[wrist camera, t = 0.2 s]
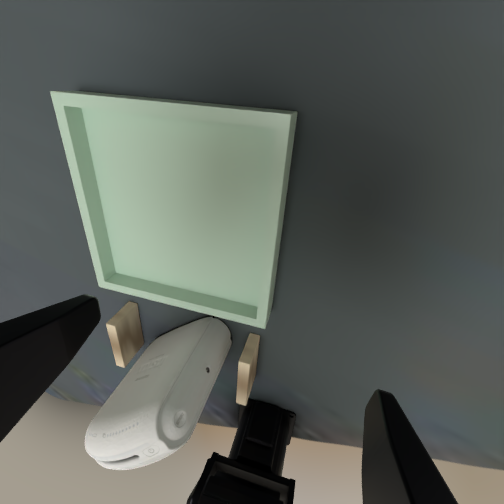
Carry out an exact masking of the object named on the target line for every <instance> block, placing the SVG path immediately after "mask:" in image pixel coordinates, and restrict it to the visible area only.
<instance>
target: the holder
mask: <svg viewBox="0 0 504 504" xmlns="http://www.w3.org/2000/svg"><path fill="white" fill-rule="evenodd" d="M106 326H107V330H108V334H109V337H110V341H111V345H112V349H113V353H114V357H115V361H116V365H117V366H121V367H124V368H125V367H126V366H127V364H128V363H129V362H130V361H131V359H132V358H133V357H134V356H135V354H136V353H137V352H138V351H139V349H140V348H141V347H142V346H143V344H144V340H143V334H142V328H141V322H140V317H139V311H138V305H137V303H133V302H130V301H129V302H128V303H127V304H126V305H125V306H124V307H123V308H122V309H121V310H120V311H118V312H117V313H116V314H115V315H114V316H113V317H112V318H111V319H110V320H109V321H108V322H107V323H106ZM259 340H260V335H256V334H252V333H250V334H249V337H248V339H247V342H246V344H245V347H244V349H243V352H242V354H241V357H240V359H239V364H238V380H237V396H236V403H238V404H241V405H244V406H246V404H247V401H248V398H249V395H250V392H251V388H252V385H253V382H254V379H255V376H256V367H257V358H258V349H259Z"/></svg>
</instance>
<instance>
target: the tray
mask: <svg viewBox="0 0 504 504" xmlns="http://www.w3.org/2000/svg"><path fill="white" fill-rule="evenodd" d="M50 93H51V97H52V101H53V105H54V109H55V113H56V117H57V121H58V125H59V129H60V133H61V137H62V141H63V145H64V149H65V153H66V157H67V161H68V165H69V169H70V173H71V177H72V181H73V185H74V189H75V193H76V197H77V201H78V205H79V209H80V213H81V217H82V221H83V225H84V229H85V233H86V237H87V241H88V245H89V249H90V253H91V257H92V261H93V265H94V269H95V273H96V277H97V281H98V285H99V287H102V288H106V289H110V290H114V291H118V292H122V293H126V294H130V295H134V296H137V297H141V298H145V299H149V300H153V301H157V302H161V303H165V304H169V305H173V306H177V307H181V308H185V309H188V310H192V311H196V312H200V313H204V314H208V315H212V316H216V317H220V318H224V319H228V320H232V321H236V322H240V323H243V324H247V325H251V326H255V327H259V328H263V329H265V328H266V325H267V322H268V319H269V316H270V313H271V310H272V304H273V296H274V288H275V281H276V273H277V265H278V258H279V250H280V242H281V235H282V227H283V219H284V212H285V204H286V196H287V189H288V181H289V174H290V166H291V158H292V151H293V143H294V135H295V128H296V120H297V112H298V111H287V110H277V109H266V108H255V107H245V106H234V105H223V104H213V103H202V102H191V101H181V100H170V99H159V98H149V97H138V96H128V95H117V94H106V93H96V92H85V91H50Z"/></svg>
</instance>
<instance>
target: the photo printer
mask: <svg viewBox="0 0 504 504" xmlns="http://www.w3.org/2000/svg"><path fill="white" fill-rule="evenodd" d="M230 338H231V334H230V331H229V329H228V327H227V326H226V325H225V324H224V323H223V322H222V321H220V320H219V319H217V318H213V317H206V318H202V319H199V320H197V321H194V322H191V323H189V324H186V325H184V326H182V327H179V328H177V329H175V330H173V331H170V332H168V333H166V334H164V335H162V336H160V337H158V338H157V339H156V340H154V341H153V342H152V343H151V344H150V345H149V346H148V348H147V349H146V350H145V351H144V353H143V354H142V355H141V357H140V358H139V359H138V360H137V362H136V363H135V364H134V366H133V367H132V368H131V370H130V371H129V372H128V373H127V375H126V376H125V377H124V379H123V380H122V381H121V383H120V384H119V385H118V387H117V388H116V389H115V390H114V392H113V393H112V394H111V396H110V397H109V398H108V400H107V401H106V402H105V404H104V405H103V406H102V408H101V409H100V410H99V411H98V413H97V414H96V416H95V417H94V418H93V420H92V421H91V423H90V424H89V427H88V429H87V431H86V435H85V449H86V451H87V453H88V454H89V455H90V456H91V457H93V458H94V459H95V460H96V461H97V463H98V464H100V465H101V466H103V467H105V468H108V469H114V470H128V469H134V468H139V467H143V466H146V465H149V464H152V463H155V462H157V461H160V460H162V459H164V458H166V457H167V456H169V455H171V454H173V453H174V452H176V451H177V450H178V449H180V448H181V447H182V446H183V445H184V444H185V443H186V442H187V441H188V440H189V438H190V437H191V435H192V433H193V431H194V429H195V426H196V424H197V422H198V419H199V417H200V415H201V413H202V410H203V408H204V406H205V403H206V401H207V399H208V397H209V394H210V392H211V390H212V388H213V385H214V383H215V381H216V379H217V376H218V374H219V372H220V370H221V367H222V365H223V363H224V361H225V359H226V356H227V354H228V352H229V350H230V347H231V344H232V341H231V339H230Z"/></svg>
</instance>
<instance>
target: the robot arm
mask: <svg viewBox="0 0 504 504" xmlns="http://www.w3.org/2000/svg"><path fill="white" fill-rule="evenodd" d="M100 318H101V313H100V308H99V302H98V299H97V298H96V297H93V296H90V295H87V294H84V295H81V296H78V297H75V298H72V299H69V300H66V301H63V302H60V303H57V304H54V305H51V306H49V307H46V308H43V309H40V310H37V311H34V312H31V313H28V314H25V315H22V316H19V317H17V318H14V319H11V320H8V321H5V322H2V323H0V442H1V441H2V440H3V439H4V438H5V436H6V435H7V434H8V433H9V432H10V431H11V430H12V428H13V427H14V426H15V425H16V424H17V423H18V421H19V420H20V419H21V418H22V417H23V416H24V415H25V413H26V412H27V411H28V410H29V409H30V408H31V406H32V405H33V404H34V403H35V402H36V401H37V400H38V399H39V397H40V396H41V395H42V394H43V393H44V392H45V391H46V389H47V388H48V387H49V386H50V385H51V384H52V382H53V381H54V380H55V379H56V378H57V377H58V376H59V374H60V373H61V372H62V371H63V370H64V369H65V367H66V366H67V365H68V364H69V363H70V361H71V360H72V359H73V357H74V356H75V355H76V353H77V352H78V351H79V349H80V348H81V346H82V345H83V344H84V342H85V341H86V340H87V338H88V337H89V335H90V334H91V333H92V331H93V330H94V328H95V327H96V326H97V324H98V323H99V321H100ZM291 415H293V416H291ZM295 420H296V414H295V413H294V412H291V411H288V410H285V409H282V408H278V407H275V406H272V405H269V404H266V403H262V402H259V401H256V400H253V399H249V398H248V401H247V404H246V406H244V405H241V404H240V408H239V421H238V429H237V432H236V436H235V439H234V442H233V445H232V448H231V451H230V454H229V457H228V458H227V457H224V456H221V455H219V454H218V453H216V452H213V454H212V457H211V458H209V459H208V460H207V463H206V465H205V468H204V471H203V473H202V475H201V477H200V479H199V481H198V483H197V485H196V486H195V488H194V489H193V491H192V493H191V494H190V496H189V498H188V500H187V504H293V499H294V489H295V480H293V479H287V478H284V477H281V476H282V470H283V464H284V458H285V452H286V446H287V445H289V444H290V440H291V436H292V432H293V428H294V424H295ZM362 494H363V504H458V503H457V501H456V499H455V498H454V496H453V494H452V493H451V491H450V489H449V487H448V486H447V484H446V482H445V481H444V479H443V477H442V476H441V474H440V472H439V471H438V469H437V467H436V466H435V464H434V462H433V461H432V459H431V457H430V456H429V454H428V452H427V451H426V449H425V447H424V446H423V444H422V442H421V440H420V439H419V437H418V435H417V434H416V432H415V430H414V429H413V427H412V425H411V424H410V422H409V420H408V419H407V417H406V415H405V414H404V412H403V410H402V409H401V407H400V405H399V404H398V402H397V400H396V398H395V397H394V396H393V395H392V394H391V393H389V392H386V391H383V390H380V389H377V390H376V391H375V392H374V394H373V395H372V397H371V399H370V400H369V402H368V404H367V406H366V409H365V418H364V435H363V454H362Z"/></svg>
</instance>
